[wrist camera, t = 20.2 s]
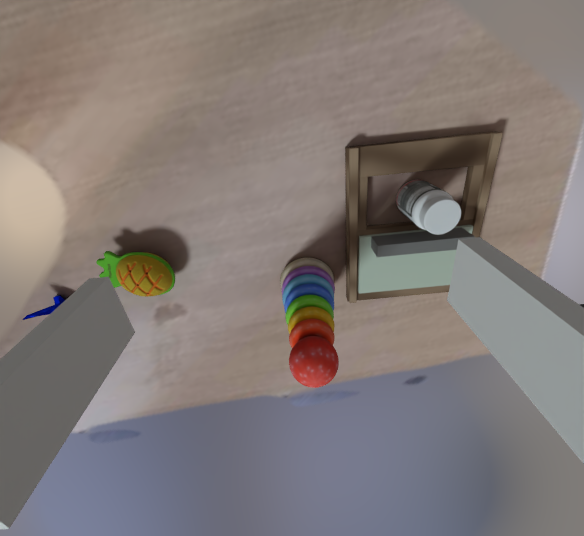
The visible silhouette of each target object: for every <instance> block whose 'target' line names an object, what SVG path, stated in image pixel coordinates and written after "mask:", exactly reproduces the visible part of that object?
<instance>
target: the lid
mask: <svg viewBox="0 0 584 536" xmlns="http://www.w3.org/2000/svg"><path fill="white" fill-rule="evenodd" d="M472 230H473V226H472V225H464V226H455V227H454V228H453V229H452V230H450V231H449V232H447V233H444V234H439V235H437V234H432V233H430V232H428V231H427V230H424V229H423V230H413V231H403V232H393V233H383V234H373V235H363V236H359V269H358V292H359V294H360V293H370V292H381V291H391V290H402V289H412V288H423V287H433V286H444V285H450V283H451V277H452V272H453V266H454V261H455V255H456V250H457V245H458V239H466V238H475V236H474V235H472Z"/></svg>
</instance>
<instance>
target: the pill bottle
mask: <svg viewBox="0 0 584 536" xmlns="http://www.w3.org/2000/svg"><path fill="white" fill-rule="evenodd" d="M396 203H397V207H398V209H399V210H400V211H401V212H402V213H403V214H404V215H405V216H407V217H408V218H409V219H410V220H411V221H412V222H413V223H414V224H415V225H417V226H418V227H419V228H421V229H424V230H427V231H428V232H430V233H432V234H437V235H439V234H444V233H447V232H449V231H450V230H452V229H453V228H454V227H455V226H456V225H457V224H458V222H459V220H460V217H461V208H460V206H459V204H458V203H457V202H456V201H454V200H453V198H452V196H451V195H450V194H449V193H447V192H445V191H443V190H442V189H440V188H438V187H436V186H434V185H432V184H430V183H428V182H427V181H424V180H421V179H416V180H411V181H409V182H407V183H405V184H404V185H403V186H402V187H401V188H400V190H399V191H398V194H397V197H396Z"/></svg>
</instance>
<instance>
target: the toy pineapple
mask: <svg viewBox="0 0 584 536" xmlns="http://www.w3.org/2000/svg"><path fill="white" fill-rule="evenodd" d="M104 256H105V258H104V259H98V260H97V264H98V265H100V266H101V267H103V268H104V272H102V273H101V274H100V275H99V276H100V278H101V277H109V278H110V280H111V283H112V285H113V287H114V288H115V287H118V286H122V287H123V288H125V289H126V290H127V291H129V292H131V293H133V294H136V295H139V296H156V295H160V294H164V293H166V292H168V291H170V290H171V289H172V288H173V286H174V283H175V274H174V271H173V269H172V268H171V266H170V265H169V263H168V262H167V261H166V260H164V259H163V258H161V257H160V256H158V255H155V254H152V253H147V252H132V253H127V254H124V255H123V256H117V255H116V254H114V253H112V252H110V251H106V252H105V253H104Z"/></svg>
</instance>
